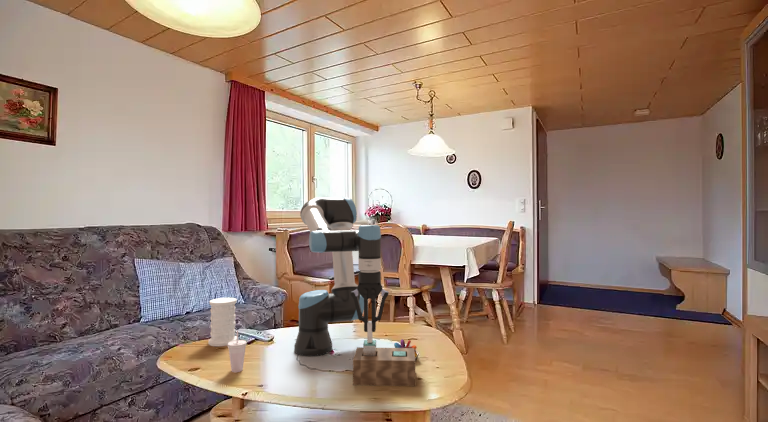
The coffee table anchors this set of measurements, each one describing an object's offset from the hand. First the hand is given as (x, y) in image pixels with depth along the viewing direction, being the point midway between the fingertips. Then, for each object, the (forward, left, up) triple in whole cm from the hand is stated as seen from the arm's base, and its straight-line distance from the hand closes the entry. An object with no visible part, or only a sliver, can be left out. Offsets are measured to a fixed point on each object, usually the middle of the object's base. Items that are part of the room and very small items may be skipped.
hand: (370, 341), depth 131 cm
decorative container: (-73, -16, -12) cm, 76 cm away
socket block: (+4, +3, -12) cm, 13 cm away
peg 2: (+7, +7, -12) cm, 15 cm away
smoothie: (-39, -27, -12) cm, 49 cm away
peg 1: (0, 0, -8) cm, 8 cm away
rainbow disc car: (-3, +22, -13) cm, 25 cm away
